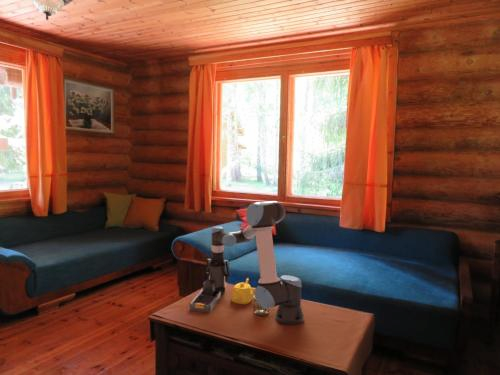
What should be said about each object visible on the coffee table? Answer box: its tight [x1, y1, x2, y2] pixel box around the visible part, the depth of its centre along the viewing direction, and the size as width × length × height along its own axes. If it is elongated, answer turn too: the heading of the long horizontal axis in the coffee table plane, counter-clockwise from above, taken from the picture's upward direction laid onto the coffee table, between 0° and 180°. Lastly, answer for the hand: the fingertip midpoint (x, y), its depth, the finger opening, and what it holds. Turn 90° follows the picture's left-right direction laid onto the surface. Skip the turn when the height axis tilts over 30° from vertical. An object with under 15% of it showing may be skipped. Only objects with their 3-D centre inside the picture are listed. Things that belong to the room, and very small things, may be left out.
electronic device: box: [209, 262, 226, 295], centre depth 231 cm, size 9×6×20 cm, turn 130°
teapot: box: [230, 277, 256, 305], centre depth 221 cm, size 22×16×11 cm
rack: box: [189, 279, 222, 314], centre depth 215 cm, size 12×23×11 cm, turn 169°
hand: (217, 285), depth 231 cm, fingers closed on electronic device, 9 cm apart
